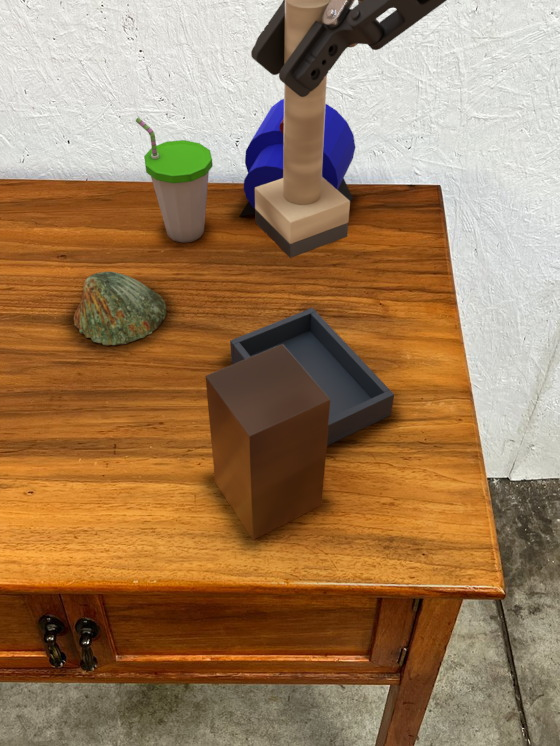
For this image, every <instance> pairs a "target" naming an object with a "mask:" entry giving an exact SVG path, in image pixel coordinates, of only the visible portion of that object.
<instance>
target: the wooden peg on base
mask: <svg viewBox="0 0 560 746" xmlns="http://www.w3.org/2000/svg"><path fill="white" fill-rule="evenodd" d="M330 1H331V0H285V52H284V64H285V63H286V61H287V60H288V59H289V57H290V56H291V54H292V53H293V52H294V50H295V49H296V47H297V46H298V45H299V43H300V42H301V40H302V39H303V38H304V36H305V35H306V33H307V32H308V31H309V29H310V28H311V26H312V25H313V24H314V22H315V21H317V22H319V23H320V24H323V21H322V15H323V13H324V11H325V9H326V7H327V6H328V4H329V2H330ZM327 83H328V74H327V75H326V76H325V77H324V79H323V80H322V82H321V83H320V84H319V86H318V87H316V88H315V89H314V90H313V91H311V92H310V93H309V94H308V95H307V96H305V97H300V96H299V95H298V94H296V93H295V92H294V91H292V90H291V89H290V88H289V87H288V86H287V85H285V84H284V83H283V99H284V155H283V178H282V179H279V180H276V181H273V182H270V183H267V184H264V185H261V186H258V187H255V214H254V215H255V218H254V219H255V224H256V225H257V226H258V227H259V228H260V229H261V230H262V231H263V232H264V233H265V234H266V235H267V236H268V237H269V238H270V239H271V240H272V242H273V243H275V245H277V247H278V248H279V249H281V250H282V252H284V254H285V255H286V256H287V257H288V258H289V259H292V258H295V257H298V256H300V255H302V254H305V253H308V252H310V251H313V250H316V249H318V248H321V247H323V246H326V245H329V244H331V243H334V242H337V241H339V240H342V239H345V238H347V237H348V234H349V233H348V232H349V220H350V207H351V202H350V201H349V200H348V199H347V198H346V197H345V196H344V195H342V194H341V193H340V192H339V191H338V190H337V189H335V188H334V187H333V186H332V185H331V184H330V183H329V182H327V181H326V180H325V179H324V178H323V177H322V163H323V144H324V124H325V105H326V104H327V103H326V102H327Z"/></svg>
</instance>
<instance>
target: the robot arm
mask: <svg viewBox="0 0 560 746" xmlns="http://www.w3.org/2000/svg"><path fill="white" fill-rule="evenodd" d="M355 1H356V0H331V1H330V2H329V4H328V6H327V7H326V9H325V11H324V13H323V15H322V21H323V24H320V23H319V22H317V21H315V22H314V24H313V25H312V26H311V28H310V29H309V31H308V32H307V33H306V35H305V36H304V38H303V39H302V40H301V42H300V43H299V45H298V46H297V47H296V49H295V50H294V52H293V53H292V54H291V56H290V57H289V59H288V60H287V61H286V63H285V64H284V52H285V0H282V2H281V3H280V5H279V7H278V8H277V9H276V11H275V12H274V14H273V15H272V17H271V18H270V19H269V21H268V22H267V24H266V25H265V26H264V28H263V30H262V31H261V32H260V33H259V35H258V37H257V38H256V41H255V44H254V45H253V47H252V49H251V51H250V52H251V53H250V55H251V58H252V60H254V61H255V62H256V63H258V64H259V65H260V66H261V67H262V68H263V69H264V70H265V71H267V72H268V73H270V74H271V75H272V76H277V75H278V79H279V80H280V81H281V82H282V83H283V85H284V84H285V85H287V86H288V87H289V88H290V89H291V90H292V91H294V92H295V93H296V94H298V95H299V96H300V97H305V96H307V95H308V94H309V93H310V92H311V91H313V90H314V89H315V88H316V87H318V86H319V84H320V83H321V82H322V80H323V79H324V77H325V76H326V75H327V76H328V74H329V72H330V71H331V70H332V68H333V67H334V65H335V64H336V63H337V61H338V60H339V59H340V58H341V56H342V55H343V53H345V51H346V49H348V48H354V47H356V46H358V44H359V45H367V46H368V47H369V48H370V49H371V50H374V51H378V50H381V49H383V47H385V46H386V45H387V44H389V43H390V42H392V41H393V40H395V39H396V38H397V37H399V36H400V35H401V34H403V33H404V32H405V31H407V30H409V29H410V28H411V27H412V26H414V25H415V24H416V23H418V22H419V21H421V20H422V19H423V18H425V17H426V16H427V15H429V14H431V13H432V12H433V11H435V10H436V9H437V8H438V7H440V6H441V5H443V4H444V3H446V2H447V1H448V0H357V5H355V6H354V7H353V8H351V7H352V6H353V4H354V3H355ZM390 9H396V10H394V11H393V12H392V13H390V14H389V15H387V16H386V17H385V18H383V19H382V20H381V21H380V22H379V20H378V18H379V17H380V16H382V15H383V14H384V13H386V12H387V11H389V10H390Z"/></svg>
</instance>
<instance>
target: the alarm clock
mask: <svg viewBox="0 0 560 746" xmlns="http://www.w3.org/2000/svg"><path fill="white" fill-rule="evenodd" d="M355 150H356V141H355V136H354V132H353V131H352V129H351V127H350V125H349V122H348V121H347V120H346V119H345V118H344V117H343V115H341V114H340V113H339V111H338V110H337V109H335V108H334V107H332V106H330V105H329V104H327V103H326V105H325V124H324V144H323V163H322V177H323V178H324V179H325V180H326V181H327V182H329V183H330V184H331V185H332V186H333V187H334V188H335V189H337V190H338V191H339V192H340V193H341V194H342V195H344V196H345V197H346V198H347V199H348V200H349V201H350V203H351V202H352V201H353V199H354V197H353V196H352V193H351V191H350V188H349V187H348V185H347V182H346V180H345V176H346V175H347V172H348V170H349V168H350V166H351V164H352V162H353V159H354V156H355V155H354V154H355ZM283 155H284V98H282V99H280V100H278V101H277V102H275V104H274V105H272V106H271V107H270V108H269V110H268V112H267V114H266V115H265V117H264V118H263V120H262V121H261V124H260V125H259V127H258V128H257V130H256V132H255V133H254V136H253V137H252V139H251V140H250V142H249V144H248V146H247V147H246V150H245V156H244V164H245V168H246V171H247V174H246V176H245V178H244V179H243V191H244V195H245V198H246V200H247V201H248V202H247V203H246V204H245V206H244V208H243V209H242V211H241V213H240V214H239V217H244V216H245V217H246V216H251V215H252V216H253V215H255V187H258V186H261V185H264V184H267V183H270V182H273V181H276V180H279V179H282V178H283Z"/></svg>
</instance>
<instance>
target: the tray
mask: <svg viewBox="0 0 560 746" xmlns="http://www.w3.org/2000/svg"><path fill="white" fill-rule="evenodd" d="M229 344H230V362H231V364H232V365H233V364H235V363H237V362H240V361H242V360H245V359H247V358H250V357H252V356H254V355H257V354H259V353H262V352H264V351H267V350H269V349H271V348H274V347H276V346H279V345H281V344H283V345H284V346H285V347H286V348H287V350H288V351H289V352H290V353H291V354H292V355H293V357H294V358H295V359H296V360H297V361H298V362H299V363H300V365H301V366H302V367H303V368H304V369H305V370H306V372H307V373H308V374H309V375H310V376H311V377H312V379H313V380H314V381H315V382H316V383H317V384H318V386H319V387H320V388H321V389H322V390H323V391H324V392H325V394H326V395H327V396H328V397H329V398H330V411H329V423H328V436H327V447H329V446H330V445H333V444H334V443H338V442H339V441H341V440H343V439H345V438H347V437H350V436H351V435H353V434H356V433H357V432H359V431H362V430H364V429H365V428H367V427H370V426H372V425H373V424H376V423H378V422H380V421H382V420H385V419H386V418H388V417H390V416H392V411H393V405H394V399H395V393H394V392H393V391H392V390H391V389H390V388H389V387H388V386H387V385H386V384H385V382H383V380H381V378H379V376H377V374H376V373H375V372H374V371H373V370H372V369H371V368H370V367H369V366H368V365H367V364H366V363H365V362H364V360H362V359H361V357H360V356H359V355H358V354H357V353H356V352H355V351H354V350H353V349H352V348H351V347H350V346H349V345H348V343H347V342H346V341H344V339H343V338H342V337H340V335H339V334H338V333H337V332H336V331H335V330H334V329H333V328H332V327H331V326H330V325H329V323H327V321H326V320H325V319H324V318H323V317H322V316H321V315H320V314H319V313H318V312H317V310H316V309H314V307H310V308H308V309H305V310H303V311H300V312H298V313H295V314H293V315H290V316H287V317H285V318H283V319H280V320H278V321H275V322H273V323H271V324H268V325H265V326H263V327H261V328H258V329H256V330H253V331H251V332H248V333H245V334H243V335H240V336H238V337H235V338H232V339H231V340H229Z"/></svg>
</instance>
